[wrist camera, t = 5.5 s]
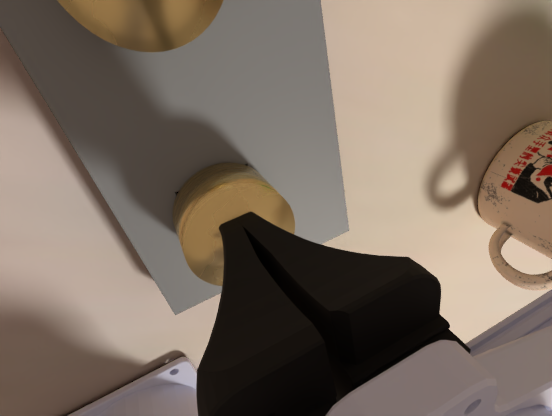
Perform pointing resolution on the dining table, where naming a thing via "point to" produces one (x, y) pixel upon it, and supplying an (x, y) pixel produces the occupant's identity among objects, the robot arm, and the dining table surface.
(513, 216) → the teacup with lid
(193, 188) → the brass knob
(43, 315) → the dining table surface
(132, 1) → the brass knob
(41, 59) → the slate panel
